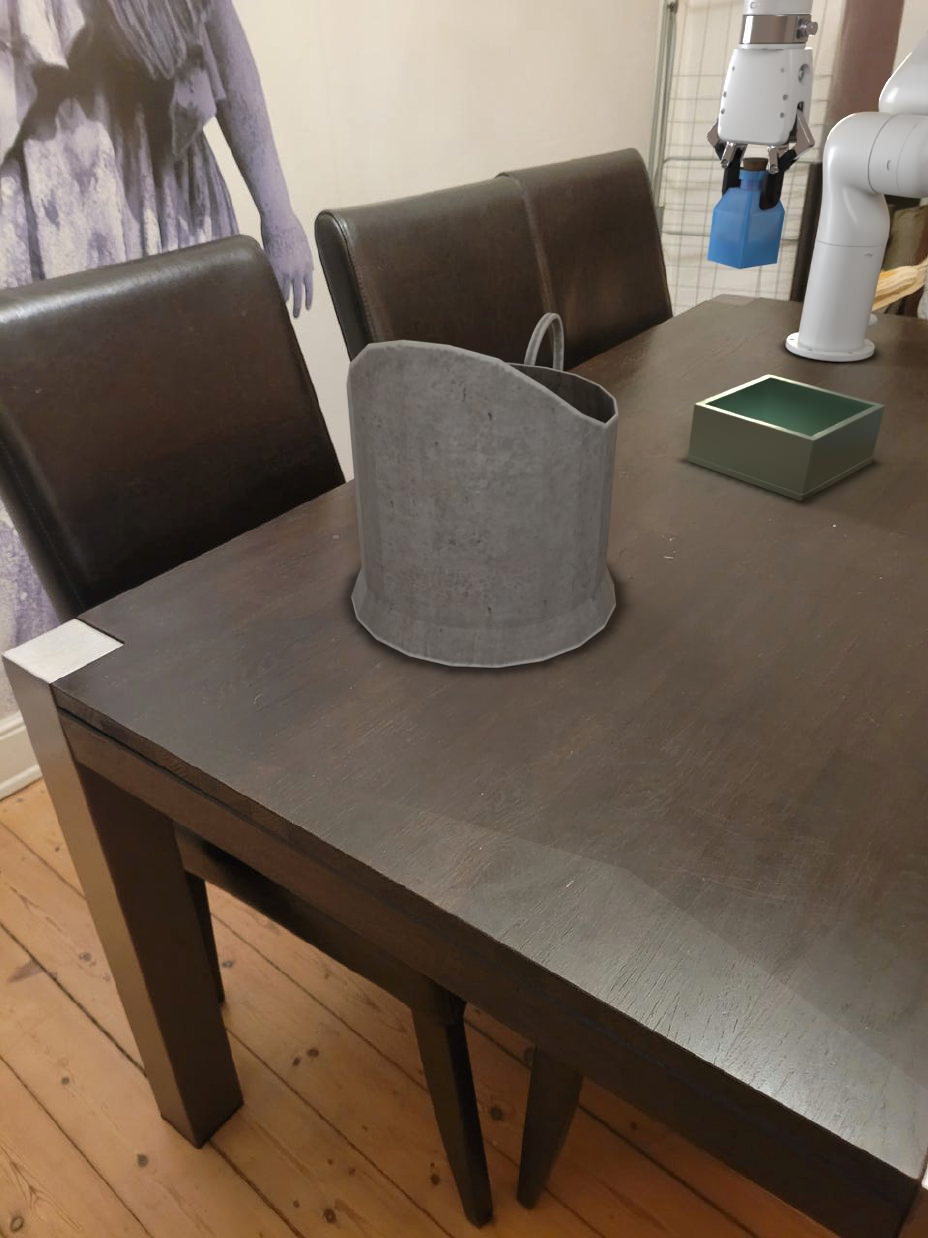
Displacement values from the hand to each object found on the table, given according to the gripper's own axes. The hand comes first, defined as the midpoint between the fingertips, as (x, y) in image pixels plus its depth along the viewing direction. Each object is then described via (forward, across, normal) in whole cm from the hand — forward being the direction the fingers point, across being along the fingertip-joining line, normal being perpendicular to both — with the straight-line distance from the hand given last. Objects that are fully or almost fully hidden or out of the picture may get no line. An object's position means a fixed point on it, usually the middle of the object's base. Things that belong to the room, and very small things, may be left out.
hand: (749, 203), depth 116 cm
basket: (+23, -21, +18) cm, 36 cm away
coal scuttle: (+23, -18, +58) cm, 65 cm away
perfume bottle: (+7, 0, 0) cm, 7 cm away
